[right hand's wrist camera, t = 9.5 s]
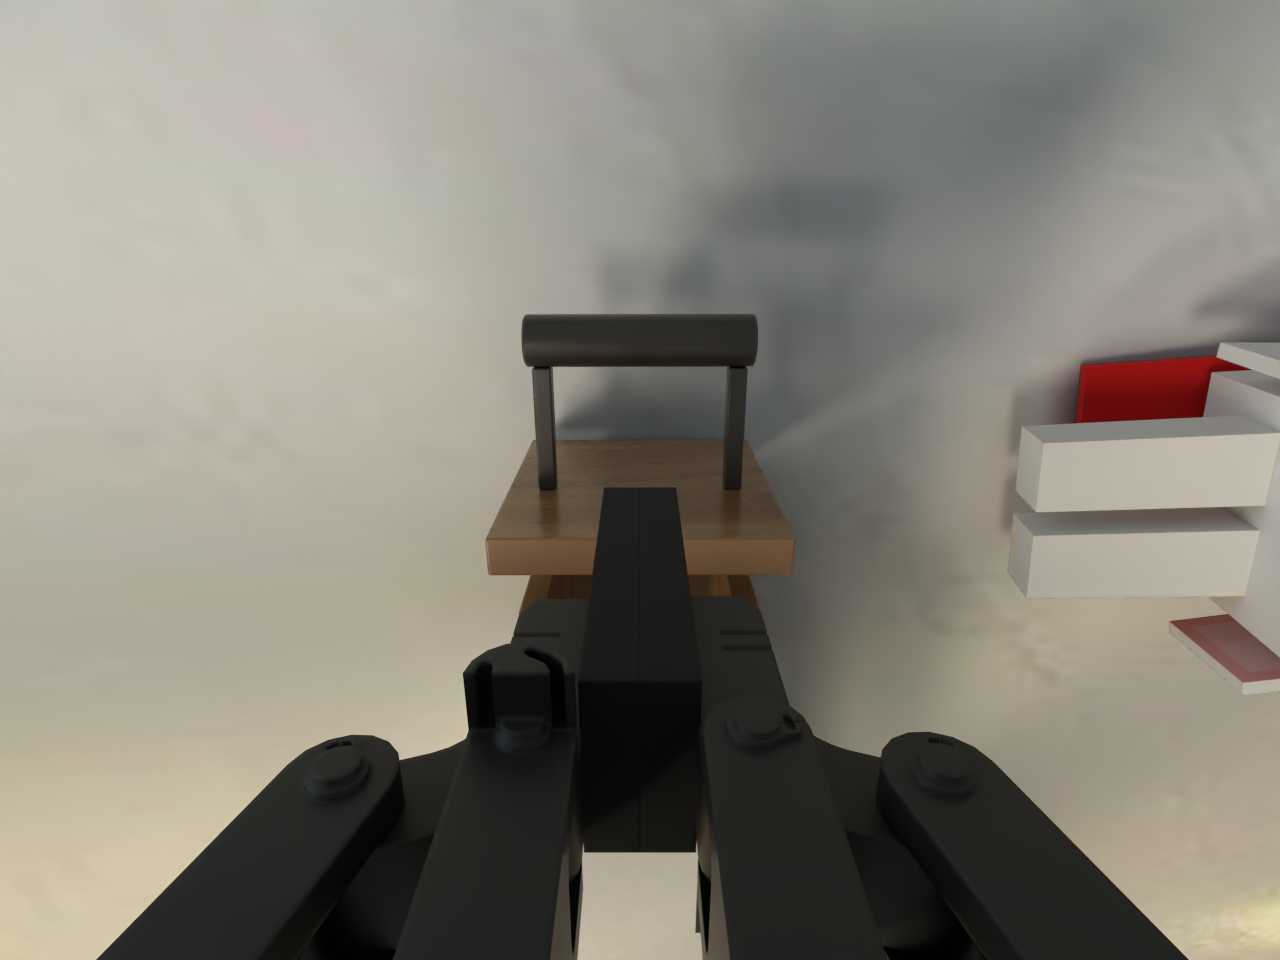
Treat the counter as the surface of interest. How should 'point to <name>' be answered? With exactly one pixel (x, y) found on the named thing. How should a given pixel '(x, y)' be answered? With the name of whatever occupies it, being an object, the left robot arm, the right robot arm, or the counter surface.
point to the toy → (1165, 500)
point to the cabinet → (639, 907)
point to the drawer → (639, 462)
